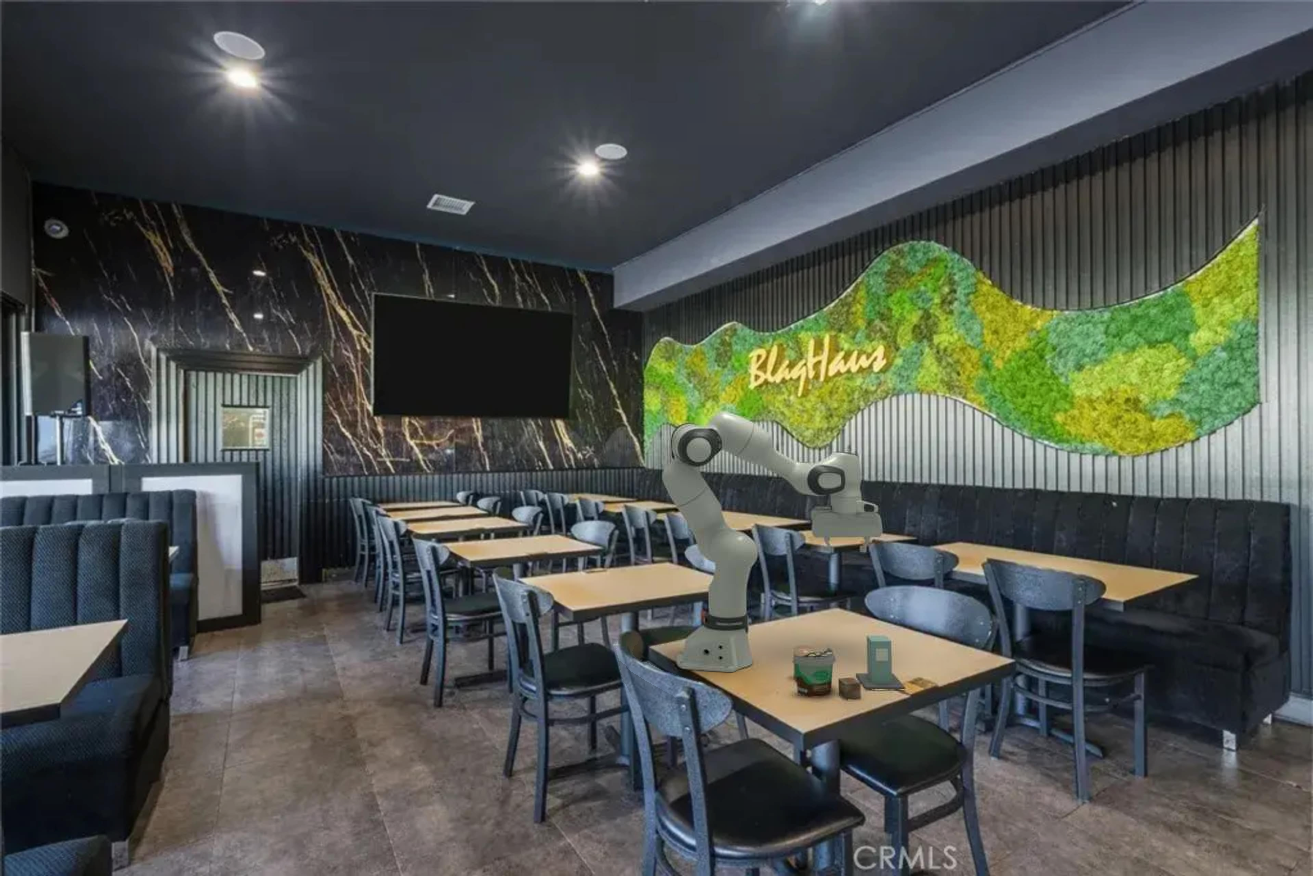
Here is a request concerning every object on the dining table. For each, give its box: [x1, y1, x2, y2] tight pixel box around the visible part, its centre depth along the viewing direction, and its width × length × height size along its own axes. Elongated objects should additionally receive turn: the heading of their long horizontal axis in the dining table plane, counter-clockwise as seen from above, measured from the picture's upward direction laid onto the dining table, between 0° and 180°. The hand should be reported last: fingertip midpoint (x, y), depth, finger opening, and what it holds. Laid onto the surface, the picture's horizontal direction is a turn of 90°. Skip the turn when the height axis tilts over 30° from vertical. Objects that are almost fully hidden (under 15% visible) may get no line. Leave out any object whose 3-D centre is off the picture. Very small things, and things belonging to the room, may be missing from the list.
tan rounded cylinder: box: [793, 645, 817, 682], centre depth 175 cm, size 6×6×8 cm
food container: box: [792, 647, 837, 697], centre depth 165 cm, size 12×6×10 cm, turn 117°
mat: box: [855, 672, 906, 691], centre depth 171 cm, size 10×10×1 cm
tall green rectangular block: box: [866, 635, 893, 684], centre depth 171 cm, size 5×5×11 cm
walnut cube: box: [837, 676, 862, 701], centre depth 163 cm, size 4×4×4 cm
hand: (847, 552), depth 193 cm, fingers open, 8 cm apart
